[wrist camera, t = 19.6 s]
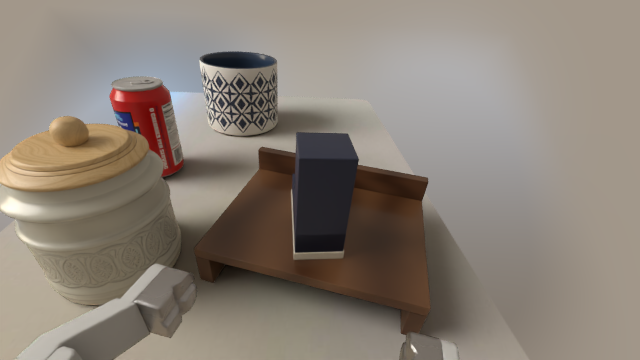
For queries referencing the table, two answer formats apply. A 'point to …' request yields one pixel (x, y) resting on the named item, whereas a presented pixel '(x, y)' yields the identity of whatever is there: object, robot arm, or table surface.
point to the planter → (240, 92)
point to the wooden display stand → (359, 248)
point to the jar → (90, 207)
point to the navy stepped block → (322, 194)
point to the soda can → (149, 117)
